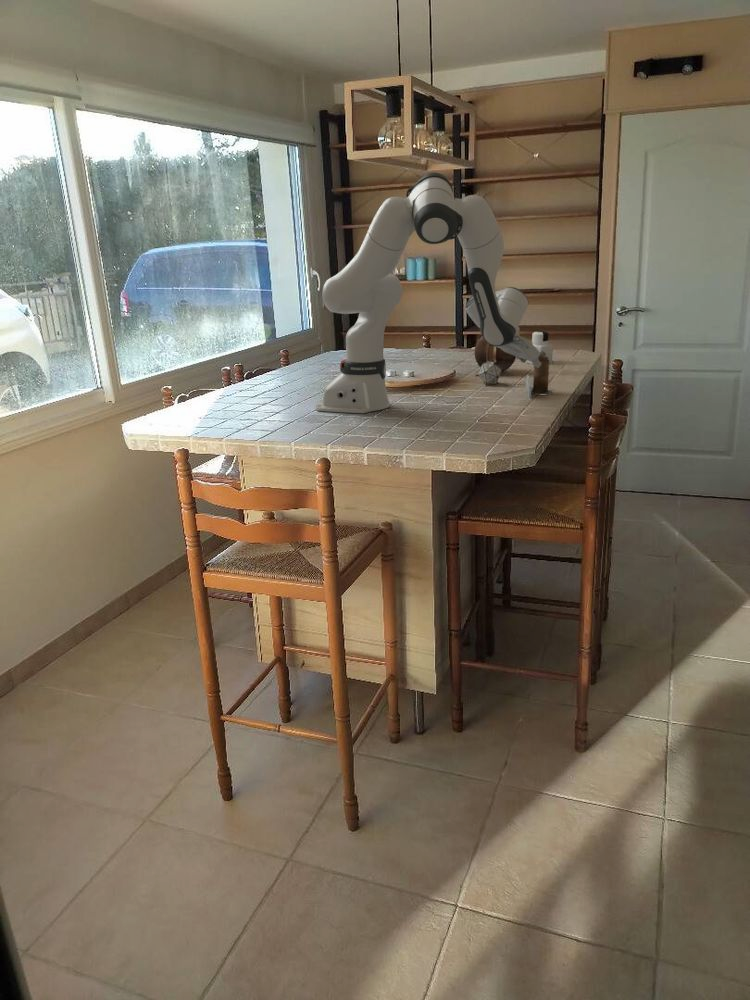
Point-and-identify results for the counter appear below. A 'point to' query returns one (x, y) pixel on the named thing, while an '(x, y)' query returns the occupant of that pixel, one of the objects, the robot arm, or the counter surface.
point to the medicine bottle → (542, 344)
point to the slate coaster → (541, 393)
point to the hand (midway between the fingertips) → (531, 363)
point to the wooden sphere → (492, 355)
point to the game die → (489, 372)
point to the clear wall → (528, 386)
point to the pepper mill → (541, 375)
